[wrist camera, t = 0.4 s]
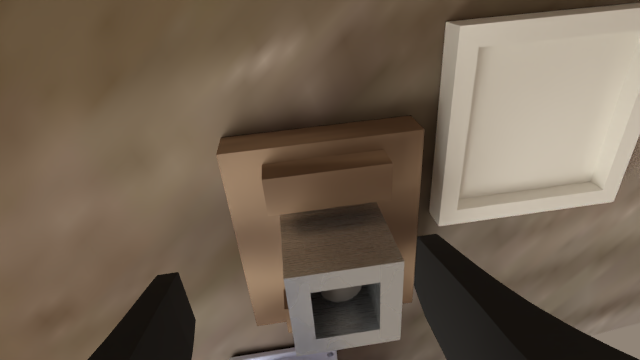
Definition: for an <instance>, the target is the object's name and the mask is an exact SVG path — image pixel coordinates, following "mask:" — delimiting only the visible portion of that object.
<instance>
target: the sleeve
mask: <svg viewBox="0 0 640 360" xmlns="http://www.w3.org/2000/svg"><path fill="white" fill-rule="evenodd" d="M280 227H281V244H282V262H283V279H284V285H285V291H286V297H287V303H288V309H289V314H290V320H291V326H292V332H293V338H294V344H295V350H296V356H303V355H309V354H316V353H322V352H328V351H334V350H340V349H346V348H353V347H359V346H365V345H371V344H377V343H384V342H390V341H396V340H400V336H401V317H402V299H403V280H404V259H403V257H402V255H401V253H400V251H399V249H398V247H397V244H396V242H395V240H394V238H393V236H392V234H391V232H390V230H389V227H388V225H387V223H386V221H385V219H384V217H383V215H382V213H381V211H380V208H379V206H378V204H377V202H372V203H365V204H357V205H350V206H342V207H335V208H327V209H320V210H312V211H305V212H297V213H290V214H282V215H280ZM360 285H362V286H361V289H360V291H359V293H358V294H357V295H356V296H354V297H353V298H351V299H349V300H347V301H343V302H333V301H329V300H327V299H326V298H324V297H323V296H322V294H321V291H327V290H333V289H340V288H347V287H353V286H360Z"/></svg>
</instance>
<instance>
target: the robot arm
mask: <svg viewBox="0 0 640 360" xmlns="http://www.w3.org/2000/svg"><path fill="white" fill-rule="evenodd" d="M414 286H415V289H416V292H417V295H418V298H419V301H420V303H421V306H422V309H423V311H424V314H425V317H426V319H427V321H428V323H429V325H430V327H431V329H432V331H433V333H434V335H435V337H436V339H437V341H438V343H439V345H440V347H441V349H442V351H443V353H444V355H445V357H446V359H447V360H639V359H637V358H635V357H633V356H630V355H628V354H626V353H624V352H622V351H619V350H617V349H615V348H613V347H611V346H609V345H607V344H605V343H603V342H601V341H599V340H597V339H595V338H593V337H591V336H589V335H587V334H585V333H583V332H581V331H579V330H577V329H575V328H574V327H572V326H570V325H568V324H566V323H564V322H563V321H561V320H559V319H558V318H556V317H554V316H552V315H551V314H549V313H547V312H545V311H544V310H542V309H540V308H539V307H537V306H535V305H534V304H532V303H530V302H529V301H527V300H526V299H524V298H523V297H521V296H520V295H518V294H517V293H515V292H514V291H512V290H511V289H509V288H508V287H506V286H505V285H503V284H502V283H500V282H499V281H498V280H496V279H495V278H493V277H492V276H491V275H489V274H488V273H486V272H485V271H484V270H482V269H481V268H480V267H478V266H477V265H476V264H474V263H473V262H472V261H470V260H469V259H468V258H467V257H465V256H464V255H463V254H461V253H460V252H459V251H458V250H456V249H455V248H454V247H453V246H451V245H450V244H449V243H448V242H446V241H445V240H444V239H442V238H441V237H440V236H439V235H437V234H432V235H425V236H419V237H417V247H416V264H415V281H414ZM195 321H196V320H195V317H194V314H193V312H192V309H191V306H190V303H189V301H188V298H187V295H186V292H185V290H184V287H183V284H182V281H181V279H180V276H179V273H178V272H176V273H170V274H163V275H157V276H156V277H155V279H154V280H153V281H152V282H151V283H150V285H149V286H148V287H147V288H146V290H145V291H144V292H143V293H142V295H141V296H140V297H139V299H138V300H137V301H136V302H135V304H134V305H133V306H132V307H131V309H130V310H129V311H128V312H127V314H126V315H125V316H124V317H123V319H122V320H121V321H120V322H119V324H118V325H117V326H116V327H115V328H114V330H113V331H112V332H111V333H110V334H109V336H108V337H107V338H106V339H105V340H104V342H103V343H102V344H101V345H100V346H99V347H98V348H97V350H96V351H95V352H94V353H93V354H92V355H91V356H90V357H89V359H88V360H191V358H192V352H193V343H194V333H195ZM229 360H337V350H334V351H328V352H322V353H316V354H309V355H303V356H296V350H295V347H293V348H287V349H281V350H275V351H268V352H262V353H256V354H250V355H243V356H237V357H232V358H231V359H229Z"/></svg>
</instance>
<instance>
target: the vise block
mask: <svg viewBox="0 0 640 360" xmlns="http://www.w3.org/2000/svg"><path fill="white" fill-rule="evenodd" d="M423 143H424V129H423V128H422V127H421V126H420V125H419V124H418V123H417V121H416V120H415V119H414V118H413V117H412V116H411V115H410V116H402V117H393V118H385V119H376V120H368V121H359V122H351V123H342V124H334V125H325V126H317V127H308V128H300V129H292V130H283V131H275V132H266V133H258V134H249V135H241V136H232V137H224V138H221V139H220V143H219V146H218V150H217V154H216V156H217V160H218V164H219V168H220V172H221V177H222V181H223V185H224V189H225V193H226V198H227V202H228V206H229V210H230V214H231V219H232V223H233V227H234V231H235V235H236V240H237V244H238V248H239V252H240V256H241V261H242V265H243V269H244V273H245V277H246V281H247V286H248V290H249V294H250V298H251V302H252V307H253V311H254V315H255V319H256V323H257V326H261V325H268V324H274V323H281V322H287V326H288V332H289V333H292V326H291V320H290V314H289V309H288V303H287V297H286V291H285V285H284V279H283V262H282V244H281V227H280V215H282V214H290V213H297V212H305V211H312V210H320V209H327V208H335V207H342V206H350V205H357V204H365V203H372V202H377V204H378V206H379V208H380V211H381V213H382V215H383V217H384V219H385V221H386V223H387V225H388V227H389V230H390V232H391V234H392V236H393V238H394V240H395V242H396V244H397V247H398V249H399V251H400V253H401V255H402V257H403V259H404V280H403V299H402V304H403V303H410V302H412V296H413V282H414V268H415V254H416V241H417V227H418V213H419V199H420V185H421V171H422V157H423ZM361 286H362V285H360V286H353V287H347V288H340V289H333V290H327V291H321V294H322V296H323V297H324V298H326V299H327V300H329V301H333V302H343V301H347V300H349V299H351V298H353V297H354V296H356V295H357V294H358V293H359V291H360V289H361Z"/></svg>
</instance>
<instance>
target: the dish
mask: <svg viewBox="0 0 640 360" xmlns="http://www.w3.org/2000/svg"><path fill="white" fill-rule="evenodd" d="M639 135H640V2H638V3H628V4H618V5H608V6H598V7H588V8H578V9H568V10H558V11H548V12H538V13H528V14H518V15H508V16H498V17H488V18H478V19H468V20H458V21H448V22H446V27H445V38H444V50H443V61H442V72H441V83H440V95H439V106H438V117H437V128H436V140H435V151H434V162H433V173H432V185H431V196H430V207H429V213H430V214H431V216H432V217H433V219H434V220H435V222H436V223H437V225H438V226H445V225H452V224H459V223H466V222H473V221H480V220H488V219H495V218H502V217H509V216H516V215H523V214H530V213H537V212H544V211H552V210H559V209H566V208H573V207H580V206H587V205H594V204H601V203H609V202H614V199H615V197H616V194H617V192H618V189H619V186H620V184H621V181H622V179H623V176H624V173H625V171H626V168H627V166H628V163H629V161H630V158H631V155H632V153H633V150H634V148H635V145H636V142H637V140H638V137H639Z"/></svg>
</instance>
